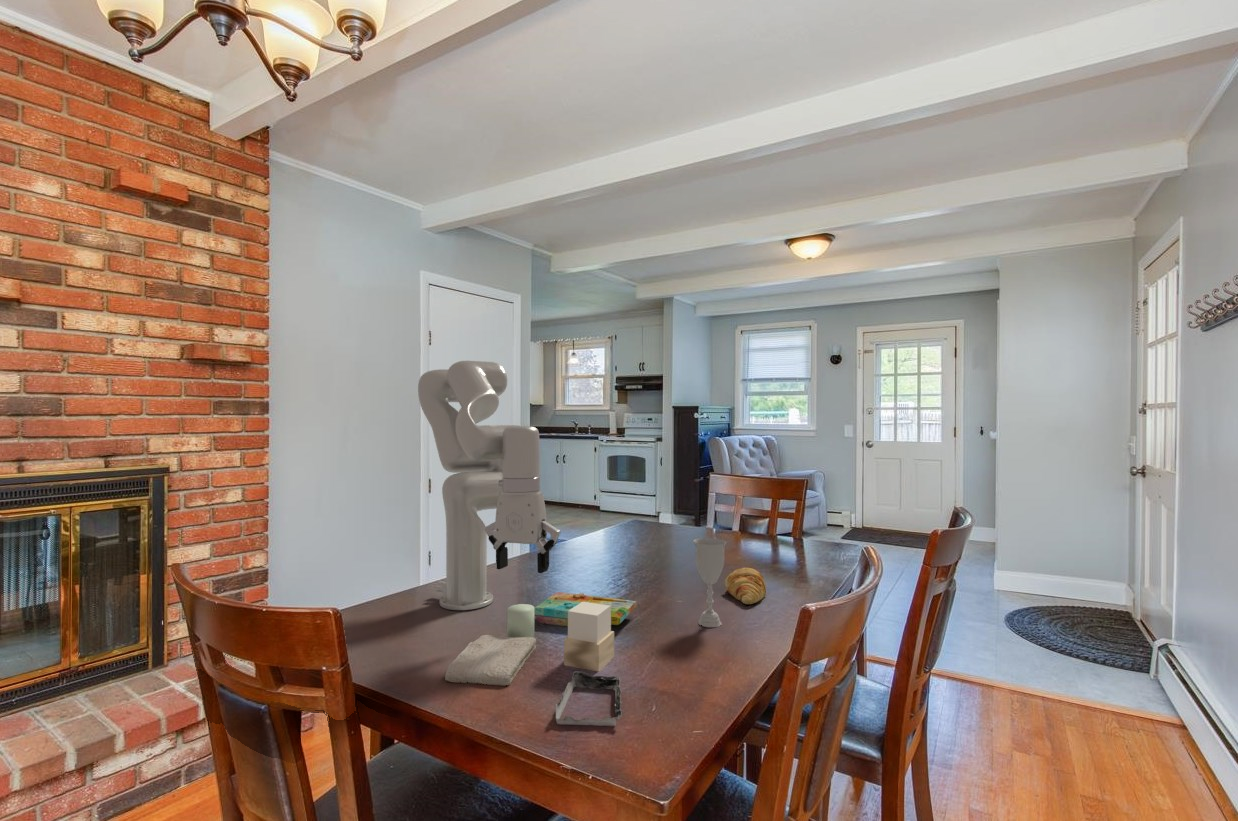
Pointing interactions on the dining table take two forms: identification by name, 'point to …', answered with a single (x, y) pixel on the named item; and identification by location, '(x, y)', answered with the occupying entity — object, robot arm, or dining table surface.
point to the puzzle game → (561, 603)
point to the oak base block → (589, 653)
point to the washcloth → (491, 660)
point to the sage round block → (520, 621)
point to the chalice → (709, 573)
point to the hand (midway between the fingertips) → (522, 569)
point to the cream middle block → (589, 622)
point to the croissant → (746, 585)
